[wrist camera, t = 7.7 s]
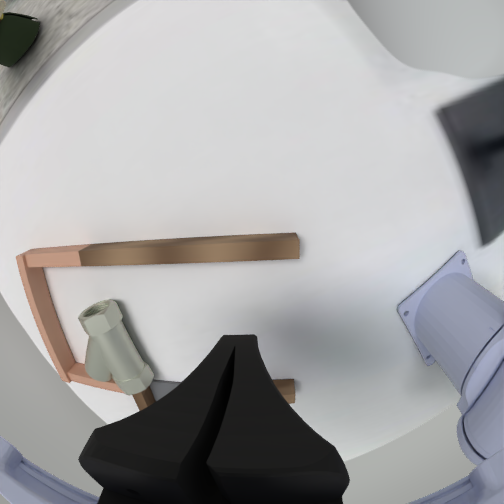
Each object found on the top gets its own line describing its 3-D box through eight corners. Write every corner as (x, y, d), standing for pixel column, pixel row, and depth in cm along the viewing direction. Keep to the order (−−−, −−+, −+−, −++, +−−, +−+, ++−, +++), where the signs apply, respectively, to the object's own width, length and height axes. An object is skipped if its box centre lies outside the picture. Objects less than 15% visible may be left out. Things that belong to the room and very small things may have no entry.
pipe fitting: (109, 369, 24) (158, 369, 23) (91, 392, 20) (142, 397, 19) (74, 304, 22) (121, 296, 21) (50, 323, 18) (96, 318, 17)
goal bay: (91, 244, 19) (75, 252, 17) (132, 380, 23) (123, 396, 21) (31, 249, 20) (15, 256, 17) (72, 368, 24) (62, 380, 22)
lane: (295, 232, 18) (299, 240, 16) (290, 424, 24) (291, 438, 22) (91, 244, 19) (78, 251, 17) (148, 416, 25) (143, 428, 23)
